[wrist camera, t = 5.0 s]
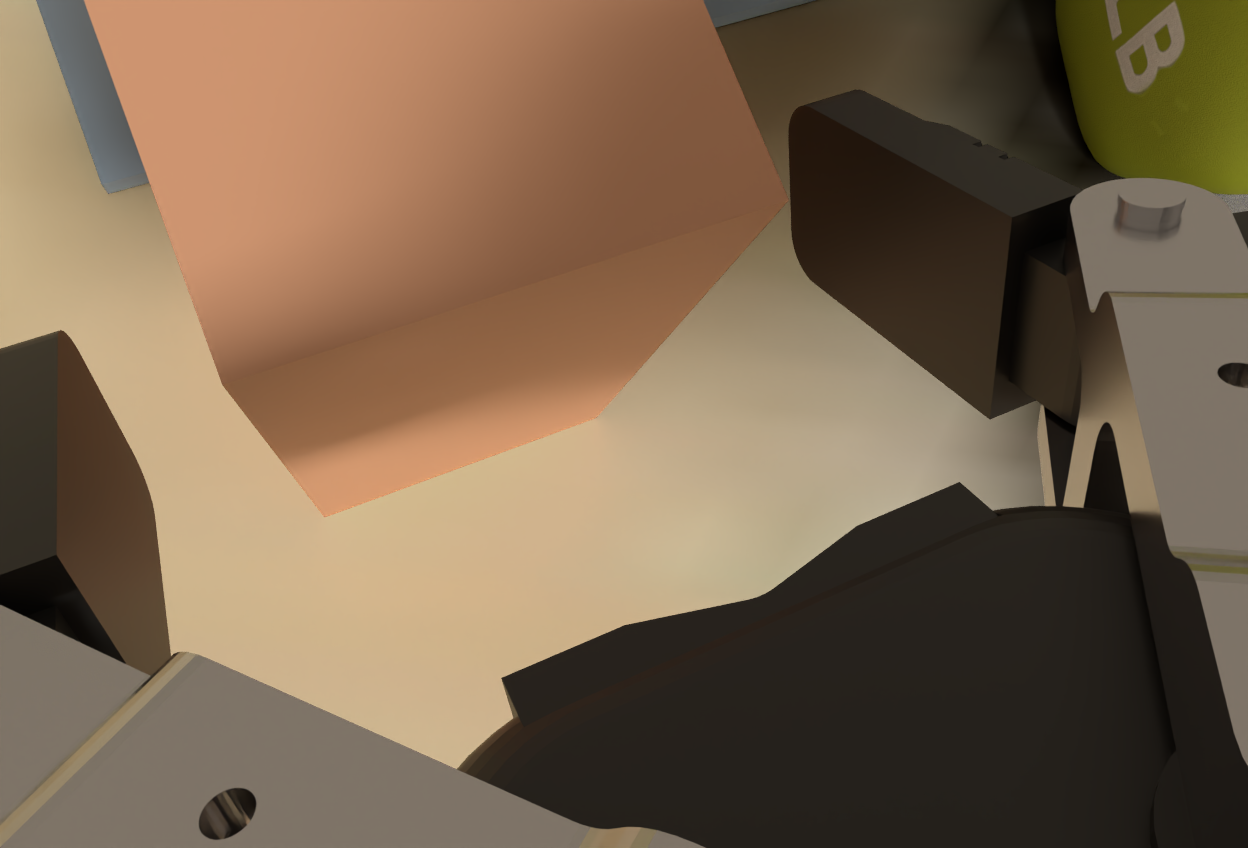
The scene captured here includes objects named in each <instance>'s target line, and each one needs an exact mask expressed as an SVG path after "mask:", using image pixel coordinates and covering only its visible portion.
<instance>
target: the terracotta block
mask: <svg viewBox="0 0 1248 848" xmlns="http://www.w3.org/2000/svg"><path fill="white" fill-rule="evenodd" d="M84 2H85V5H86V8H87V10H88V13H89V16H90V19H91V22H92V24H93V27H94V30H95V33H96V35H97V38H98V41H99V44H100V46H101V49H102V52H103V55H104V58H105V60H106V63H107V66H108V69H109V71H110V74H111V77H112V80H113V83H114V85H115V88H116V91H117V94H118V96H119V99H120V102H121V105H122V108H123V110H124V113H125V116H126V119H127V121H128V124H129V127H130V130H131V132H132V135H133V138H134V141H135V144H136V146H137V149H138V152H139V155H140V157H141V160H142V163H143V166H144V169H145V171H146V174H147V177H148V180H149V182H150V185H151V188H152V191H153V194H154V196H155V199H156V202H157V205H158V207H159V210H160V213H161V216H162V218H163V221H164V224H165V227H166V230H167V232H168V235H169V238H170V241H171V243H172V246H173V249H174V252H175V255H176V257H177V260H178V263H179V266H180V268H181V271H182V274H183V277H184V280H185V282H186V285H187V288H188V291H189V293H190V296H191V299H192V302H193V304H194V307H195V310H196V313H197V316H198V318H199V321H200V324H201V327H202V329H203V332H204V335H205V338H206V341H207V343H208V346H209V349H210V352H211V354H212V357H213V360H214V363H215V366H216V368H217V371H218V374H219V377H220V379H221V382H222V385H223V386H224V387H225V389H226V390H227V391H228V393H229V394H230V395H231V397H232V398H233V399H234V400H235V402H236V403H237V404H238V406H239V407H240V408H241V410H242V411H243V412H244V413H245V415H246V416H247V417H248V419H249V420H250V421H251V423H252V424H253V425H254V426H255V428H256V429H257V430H258V432H259V433H260V434H261V435H262V437H263V438H264V439H265V441H266V442H267V443H268V445H269V446H270V447H271V448H272V450H273V451H274V452H275V454H276V455H277V456H278V458H279V459H280V460H281V461H282V463H283V464H284V465H285V467H286V468H287V469H288V471H289V472H290V473H291V474H292V476H293V477H294V478H295V480H296V481H297V482H298V483H299V485H300V486H301V487H302V489H303V490H304V491H305V493H306V494H307V495H308V496H309V498H310V499H311V500H312V502H313V503H314V504H315V506H316V507H317V508H318V509H319V511H320V512H321V513H322V515H323V516H324V517H327V516H330V515H332V514H335V513H338V512H341V511H343V510H346V509H349V508H352V507H354V506H357V505H360V504H362V503H365V502H368V501H371V500H373V499H376V498H379V497H382V496H384V495H387V494H390V493H392V492H395V491H398V490H401V489H403V488H406V487H409V486H412V485H414V484H417V483H420V482H422V481H425V480H428V479H431V478H433V477H436V476H439V475H442V474H444V473H447V472H450V471H452V470H455V469H458V468H461V467H463V466H466V465H469V464H472V463H474V462H477V461H480V460H482V459H485V458H488V457H491V456H493V455H496V454H499V453H502V452H504V451H507V450H510V449H512V448H515V447H518V446H521V445H523V444H526V443H529V442H532V441H534V440H537V439H540V438H542V437H545V436H548V435H551V434H553V433H556V432H559V431H562V430H564V429H567V428H570V427H572V426H575V425H578V424H581V423H583V422H586V421H589V420H592V419H594V418H597V416H598V415H599V414H600V413H601V412H602V411H603V410H604V408H605V407H606V406H607V405H608V404H609V403H610V402H611V401H612V399H613V398H614V397H615V396H616V395H617V394H618V393H619V392H620V390H621V389H622V388H623V387H624V386H625V385H626V384H627V382H628V381H629V380H630V379H631V378H632V377H633V376H634V375H635V373H636V372H637V371H638V370H639V369H640V368H641V367H642V366H643V364H644V363H645V362H646V361H647V360H648V359H649V358H650V356H651V355H652V354H653V353H654V352H655V351H656V350H657V349H658V347H659V346H660V345H661V344H662V343H663V342H664V341H665V340H666V338H667V337H668V336H669V335H670V334H671V333H672V332H673V331H674V329H675V328H676V327H677V326H678V325H679V324H680V323H681V321H682V320H683V319H684V318H685V317H686V316H687V315H688V314H689V312H690V311H691V310H692V309H693V308H694V307H695V306H696V305H697V303H698V302H699V301H700V300H701V299H702V298H703V297H704V295H705V294H706V293H707V292H708V291H709V290H710V289H711V288H712V286H713V285H714V284H715V283H716V282H717V281H718V280H719V279H720V277H721V276H722V275H723V274H724V273H725V272H726V271H727V269H728V268H729V267H730V266H731V265H732V264H733V263H734V262H735V260H736V259H737V258H738V257H739V256H740V255H741V254H742V253H743V251H744V250H745V249H746V248H747V247H748V246H749V245H750V243H751V242H752V241H753V240H754V239H755V238H756V237H757V236H758V234H759V233H760V232H761V231H762V230H763V229H764V228H765V227H766V225H767V224H768V223H769V222H770V221H771V220H772V219H773V217H774V216H775V215H776V214H777V213H778V212H779V211H780V210H781V208H782V207H783V206H784V205H785V204H786V203H787V202H788V201H789V199H788V197H787V194H786V192H785V190H784V187H783V185H782V183H781V180H780V178H779V176H778V173H777V171H776V169H775V166H774V164H773V162H772V159H771V157H770V155H769V152H768V150H767V148H766V145H765V143H764V141H763V139H762V136H761V134H760V132H759V129H758V127H757V125H756V122H755V120H754V118H753V115H752V113H751V111H750V108H749V106H748V104H747V101H746V99H745V97H744V94H743V92H742V90H741V87H740V85H739V83H738V80H737V78H736V76H735V73H734V71H733V69H732V66H731V64H730V62H729V59H728V57H727V55H726V52H725V50H724V48H723V45H722V43H721V41H720V38H719V36H718V34H717V32H716V29H715V27H714V25H713V22H712V20H711V18H710V15H709V13H708V11H707V8H706V6H705V4H704V1H703V0H84Z"/></svg>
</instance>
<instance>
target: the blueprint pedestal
mask: <svg viewBox="0 0 1248 848" xmlns="http://www.w3.org/2000/svg"><path fill="white" fill-rule="evenodd" d="M36 1H37V4H38V7H39V10H40V12H41V15H42V18H43V21H44V24H45V26H46V29H47V32H48V35H49V38H50V40H51V43H52V46H53V49H54V52H55V55H56V57H57V60H58V63H59V66H60V69H61V71H62V74H63V77H64V80H65V83H66V85H67V88H68V91H69V94H70V97H71V99H72V102H73V105H74V108H75V111H76V114H77V116H78V119H79V122H80V125H81V128H82V130H83V133H84V136H85V139H86V142H87V144H88V147H89V150H90V153H91V156H92V158H93V161H94V164H95V167H96V170H97V173H98V175H99V178H100V181H101V184H102V185H103V187H104V188H105V190H106V191H107V193H108V194H110V193H113V192H117V191H121V190H124V189H128V188H132V187H135V186H139V185H143V184H146V183H150V182H149V180H148V177H147V174H146V171H145V169H144V166H143V163H142V160H141V157H140V155H139V152H138V149H137V146H136V144H135V141H134V138H133V135H132V132H131V130H130V127H129V124H128V121H127V119H126V116H125V113H124V110H123V108H122V105H121V102H120V99H119V96H118V94H117V91H116V88H115V85H114V83H113V80H112V77H111V74H110V71H109V69H108V66H107V63H106V60H105V58H104V55H103V52H102V49H101V46H100V44H99V41H98V38H97V35H96V33H95V30H94V27H93V24H92V22H91V19H90V16H89V13H88V10H87V8H86V5H85V2H84V0H36ZM703 1H704V4H705V6H706V8H707V11H708V13H709V15H710V18H711V20H712V22H713V25H714V27H715V28H716V27H720V26H724V25H727V24H731V23H735V22H738V21H742V20H746V19H749V18H753V17H757V16H760V15H764V14H767V13H771V12H775V11H778V10H782V9H786V8H789V7H793V6H797V5H800V4H804V3H808V2H811V1H815V0H703Z"/></svg>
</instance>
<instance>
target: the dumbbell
mask: <svg viewBox="0 0 1248 848" xmlns="http://www.w3.org/2000/svg"><path fill="white" fill-rule="evenodd" d="M1056 23H1057V31H1058V37H1059V42H1060V47H1061V52H1062V57H1063V61H1064V65H1065V70H1066V74H1067V78H1068V83H1069V87H1070V92H1071V96H1072V101H1073V105H1074V109H1075V113H1076V117H1077V121H1078V124H1079V127H1080V130H1081V133H1082V135H1083V138H1084V141H1085V143H1086V144H1087V146H1088V148H1089V150H1090V152H1091V153H1092V155H1093V157H1094V159H1095V160H1096V161H1097V162H1098V163H1099V164H1100V165H1101V166H1103V167H1104V168H1105V169H1106V170H1108V171H1110V172H1112V173H1113V174H1116V175H1118V176H1121V177H1124V178H1126V179H1128V178H1155V179H1166V180H1172V181H1178V182H1182V183H1186V184H1191V185H1194V186H1197V187H1200V188H1202V189H1205V190H1207V191H1209V192H1211V193H1216V194H1229V195H1234V194H1248V0H1056Z"/></svg>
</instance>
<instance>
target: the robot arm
mask: <svg viewBox="0 0 1248 848" xmlns="http://www.w3.org/2000/svg"><path fill="white" fill-rule="evenodd" d="M789 168H790V200H791V231H792V240H793V245H794V249H795V253H796V255H797V258H798V261H799V263H800V265H801V267H802V269H803V270H804V272H805V273H806V275H807V276H808V277H809V279H810V280H811V281H812V282H814V283H815V284H816V285H817V286H819V287H820V288H821V289H822V290H824V291H825V292H826V293H828V294H829V295H830V296H831V297H833V298H834V299H835V300H837V301H838V302H839V303H841V304H842V305H843V306H844V307H846V308H847V309H848V310H850V311H851V312H852V313H853V314H855V315H856V316H857V317H859V318H860V319H861V320H862V321H864V322H865V323H866V324H868V325H869V326H870V327H871V328H873V329H874V330H875V331H877V332H878V333H879V334H880V335H882V336H883V337H884V338H886V339H887V340H888V341H889V342H891V343H892V344H893V345H895V346H896V347H897V348H898V349H900V350H901V351H902V352H904V353H905V354H906V355H907V356H909V357H910V358H911V359H913V360H914V361H915V362H916V363H918V364H919V365H920V366H922V367H923V368H924V369H925V370H927V371H928V372H929V373H931V374H932V375H933V376H934V377H936V378H937V379H938V380H940V381H941V382H942V383H944V384H945V385H946V386H947V387H949V388H950V389H951V390H953V391H954V392H955V393H956V394H958V395H959V396H960V397H962V398H963V399H964V400H965V401H967V402H968V403H969V404H971V405H972V406H973V407H974V408H976V409H977V410H978V411H980V412H981V413H982V414H983V415H985V416H986V417H987V418H989V419H992V418H995V417H997V416H999V415H1002V414H1004V413H1007V412H1009V411H1011V410H1014V409H1016V408H1019V407H1021V406H1024V405H1026V404H1028V403H1031V402H1033V401H1038V402H1039V403H1041V409H1040V416H1039V423H1038V433H1037V436H1038V445H1039V454H1040V463H1041V472H1042V482H1043V491H1044V500H1045V506H1028V507H1018V508H1008V509H1000V510H994V511H992V510H991V509H990V508H989V507H988V506H986V505H985V504H984V503H983V502H982V501H981V500H980V499H978V498H977V497H976V496H975V495H974V494H973V493H972V492H970V491H969V490H968V489H967V488H966V487H965V486H964V485H962V484H961V483H960V482H959V483H956V484H954V485H952V486H949V487H947V488H945V489H942V490H940V491H938V492H935V493H933V494H931V495H928V496H926V497H924V498H921V499H919V500H917V501H914V502H912V503H910V504H907V505H905V506H903V507H900V508H898V509H896V510H893V511H891V512H889V513H886V514H884V515H882V516H879V517H877V518H875V519H872V520H870V521H868V522H865V523H863V524H861V525H858V526H856V527H855V528H854V529H852V530H851V531H850V532H848V533H847V534H846V535H844V536H843V537H842V538H840V539H839V540H838V541H836V542H835V543H834V544H832V545H831V546H830V547H828V548H827V549H826V550H824V551H823V552H822V553H820V554H819V555H818V556H816V557H815V558H814V559H812V560H811V561H810V562H808V563H807V564H806V565H804V566H803V567H802V568H800V569H799V570H798V571H796V572H795V573H794V574H792V575H791V576H790V577H788V578H787V579H786V580H784V581H783V582H782V583H780V584H779V585H778V586H776V587H775V588H774V589H772V590H771V591H769V592H767V593H766V594H764V595H761V596H759V597H757V598H753V599H749V600H745V601H740V602H735V603H730V604H726V605H721V606H716V607H711V608H706V609H701V610H696V611H692V612H687V613H682V614H677V615H672V616H667V617H663V618H658V619H653V620H648V621H643V622H638V623H634V624H629V625H624V626H622V627H620V628H617V629H615V630H613V631H610V632H608V633H606V634H603V635H601V636H599V637H596V638H594V639H592V640H589V641H587V642H585V643H582V644H580V645H578V646H575V647H573V648H571V649H568V650H566V651H564V652H561V653H559V654H557V655H554V656H552V657H550V658H547V659H545V660H543V661H540V662H538V663H536V664H533V665H531V666H529V667H526V668H524V669H521V670H519V671H517V672H514V673H512V674H510V675H507V676H505V677H503V678H501V679H502V682H503V685H504V688H505V692H506V695H507V698H508V701H509V705H510V708H511V711H512V714H513V719H512V720H511V721H509V722H508V723H507V724H505V725H504V726H503V727H501V728H500V729H499V730H497V731H496V732H495V733H493V734H492V735H491V736H490V737H489V738H488V739H487V740H486V741H485V742H483V743H482V744H481V745H480V746H479V747H478V748H477V749H476V750H475V751H474V752H472V753H471V754H470V755H469V756H468V757H467V758H466V760H465V761H464V762H463V763H462V764H461V765H460V766H459V768H458V769H455V768H452V767H450V766H448V765H446V764H443V763H441V762H439V761H437V760H434V759H432V758H430V757H428V756H425V755H423V754H421V753H419V752H416V751H414V750H412V749H410V748H407V747H405V746H403V745H401V744H399V743H396V742H394V741H392V740H390V739H387V738H385V737H383V736H381V735H378V734H376V733H374V732H372V731H369V730H367V729H365V728H363V727H360V726H358V725H356V724H354V723H351V722H349V721H347V720H345V719H342V718H340V717H338V716H336V715H333V714H331V713H329V712H327V711H324V710H322V709H320V708H318V707H315V706H313V705H311V704H309V703H307V702H304V701H302V700H300V699H298V698H295V697H293V696H291V695H289V694H286V693H284V692H282V691H280V690H277V689H275V688H273V687H271V686H268V685H266V684H264V683H262V682H259V681H257V680H255V679H253V678H250V677H248V676H246V675H244V674H241V673H239V672H237V671H235V670H232V669H230V668H228V667H226V666H223V665H221V664H219V663H217V662H214V661H212V660H210V659H208V658H205V657H203V656H200V655H197V654H193V653H189V652H178V653H174V654H173V655H172V656H171V653H170V644H169V636H168V627H167V618H166V609H165V601H164V592H163V583H162V574H161V566H160V557H159V548H158V539H157V531H156V522H155V514H154V508H153V503H152V500H151V496H150V493H149V490H148V487H147V484H146V481H145V479H144V476H143V473H142V471H141V469H140V466H139V464H138V462H137V460H136V458H135V456H134V454H133V452H132V450H131V448H130V446H129V444H128V443H127V441H126V439H125V437H124V435H123V433H122V431H121V429H120V428H119V426H118V424H117V422H116V420H115V418H114V416H113V414H112V413H111V411H110V409H109V407H108V405H107V403H106V401H105V399H104V398H103V396H102V394H101V392H100V390H99V388H98V386H97V384H96V383H95V381H94V379H93V377H92V375H91V373H90V371H89V369H88V368H87V366H86V364H85V362H84V360H83V358H82V356H81V355H80V353H79V351H78V349H77V348H76V346H75V344H74V343H73V341H72V340H71V339H70V337H69V336H68V335H67V334H66V333H65V332H64V331H62V330H60V331H57V332H54V333H50V334H47V335H44V336H41V337H37V338H34V339H31V340H27V341H24V342H21V343H18V344H14V345H11V346H8V347H4V348H1V349H0V848H1248V211H1245V212H1238V213H1232V212H1231V210H1230V208H1229V206H1228V205H1227V204H1226V203H1225V202H1224V201H1223V200H1222V199H1221V198H1219V197H1218V196H1216V195H1215V194H1213V193H1211V192H1209V191H1207V190H1205V189H1202V188H1200V187H1197V186H1194V185H1191V184H1186V183H1182V182H1178V181H1172V180H1166V179H1155V178H1128V179H1119V180H1112V181H1107V182H1103V183H1100V184H1096V185H1093V186H1091V187H1089V188H1087V189H1085V190H1082V189H1080V188H1078V187H1076V186H1074V185H1072V184H1069V183H1067V182H1065V181H1063V180H1061V179H1059V178H1057V177H1055V176H1053V175H1051V174H1049V173H1047V172H1044V171H1042V170H1040V169H1038V168H1036V167H1034V166H1032V165H1030V164H1028V163H1026V162H1024V161H1022V160H1020V159H1017V158H1015V157H1012V158H1008V156H1007V153H1005V152H1003V151H1001V150H999V149H997V148H995V147H993V146H990V145H988V144H986V145H983V146H982V143H981V141H980V140H978V139H976V138H974V137H972V136H970V135H968V134H966V133H963V132H961V131H959V130H957V129H955V128H953V127H951V126H948V125H943V124H939V123H934V122H929V121H924V120H922V119H920V118H918V117H916V116H914V115H912V114H910V113H908V112H906V111H903V110H901V109H899V108H897V107H895V106H893V105H891V104H889V103H887V102H885V101H883V100H881V99H879V98H877V97H875V96H873V95H871V94H869V93H867V92H865V91H862V90H853V91H850V92H846V93H843V94H840V95H836V96H833V97H830V98H827V99H823V100H820V101H817V102H813V103H810V104H807V105H804V106H800V107H798V108H797V109H796V110H795V111H794V112H793V114H792V117H791V120H790V123H789Z"/></svg>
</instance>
